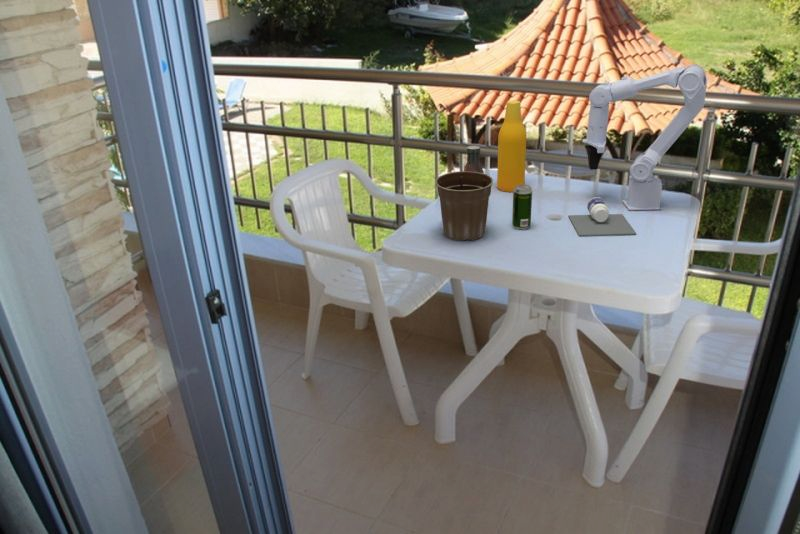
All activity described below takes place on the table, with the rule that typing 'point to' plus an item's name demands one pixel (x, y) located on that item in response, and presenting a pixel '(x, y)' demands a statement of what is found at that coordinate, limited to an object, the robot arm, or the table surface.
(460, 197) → the plant pot
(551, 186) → the table surface
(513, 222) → the beer can
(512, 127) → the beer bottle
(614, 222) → the mat
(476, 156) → the sauce bottle
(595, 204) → the pill bottle
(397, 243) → the table surface
